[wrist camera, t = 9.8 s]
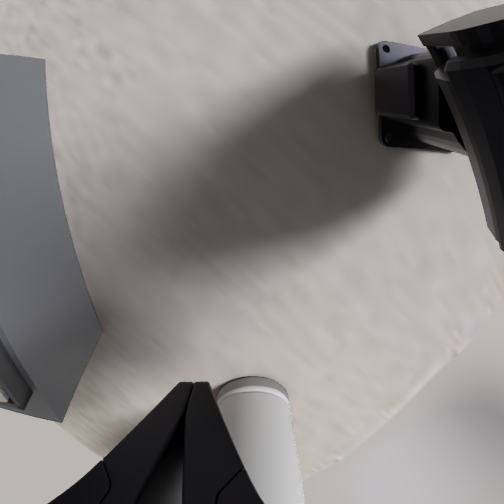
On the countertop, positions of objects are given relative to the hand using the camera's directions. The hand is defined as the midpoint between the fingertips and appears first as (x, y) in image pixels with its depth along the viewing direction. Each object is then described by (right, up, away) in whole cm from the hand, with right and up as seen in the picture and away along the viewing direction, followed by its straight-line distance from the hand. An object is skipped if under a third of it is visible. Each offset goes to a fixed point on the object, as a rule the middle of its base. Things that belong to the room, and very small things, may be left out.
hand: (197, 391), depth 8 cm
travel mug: (+1, -9, +18) cm, 20 cm away
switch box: (-15, +6, +9) cm, 19 cm away
